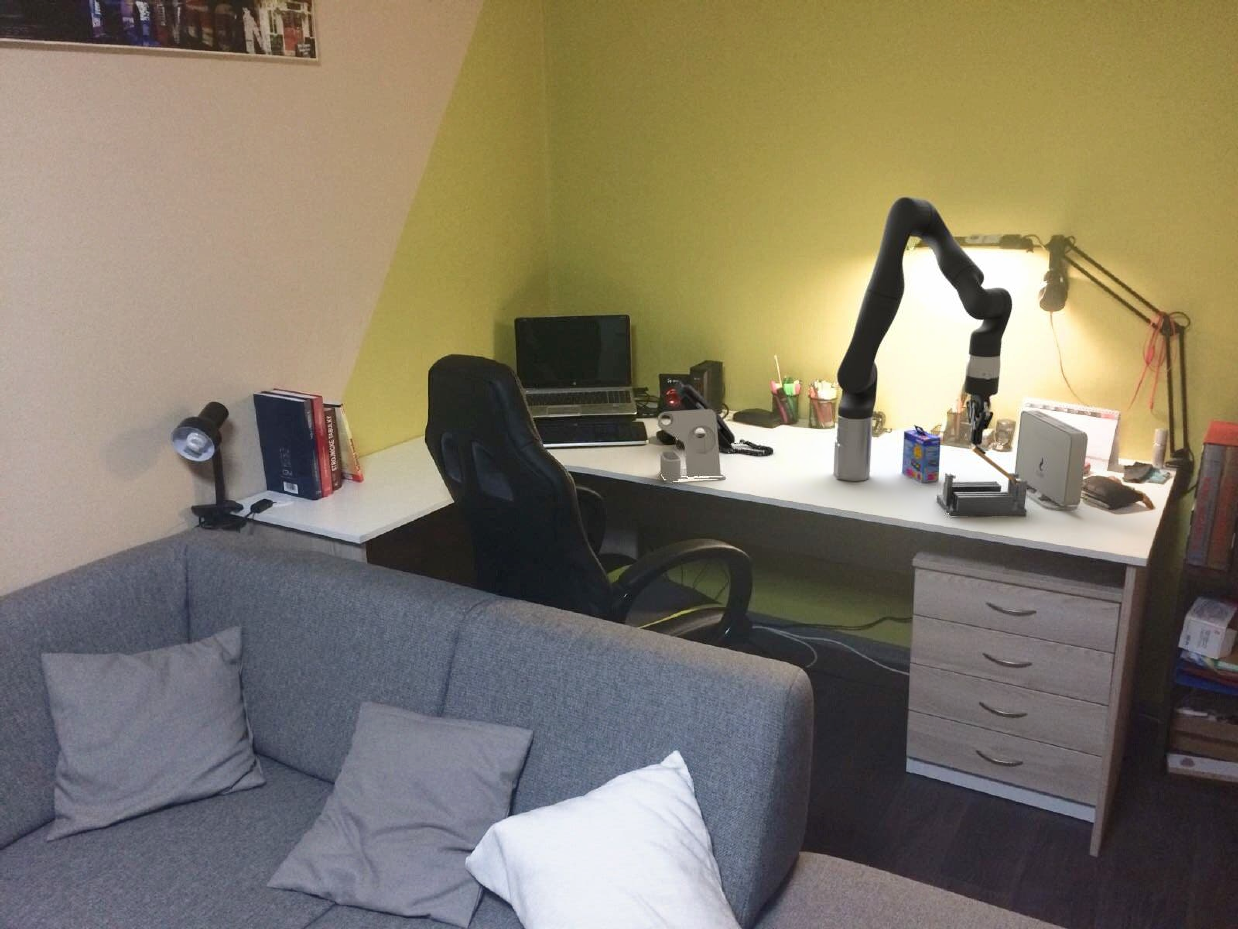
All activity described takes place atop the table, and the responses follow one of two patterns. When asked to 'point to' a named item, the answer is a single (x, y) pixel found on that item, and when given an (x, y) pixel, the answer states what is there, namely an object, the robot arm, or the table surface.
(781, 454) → the table surface
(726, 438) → the office phone
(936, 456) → the ink cartridge box
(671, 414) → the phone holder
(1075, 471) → the network device
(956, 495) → the heatsink
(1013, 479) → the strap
